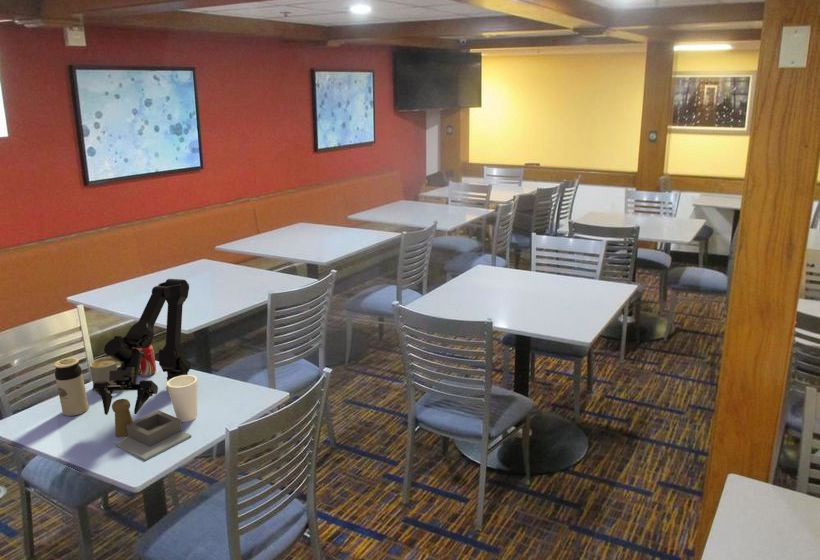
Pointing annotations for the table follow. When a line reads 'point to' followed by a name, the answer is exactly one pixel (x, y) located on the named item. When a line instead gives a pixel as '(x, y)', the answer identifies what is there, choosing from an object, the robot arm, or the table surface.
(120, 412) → the cork
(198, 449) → the table surface
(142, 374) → the soda can
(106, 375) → the coffee mug
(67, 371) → the travel mug
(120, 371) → the robot arm
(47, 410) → the table surface
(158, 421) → the socket
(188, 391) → the foam cup
